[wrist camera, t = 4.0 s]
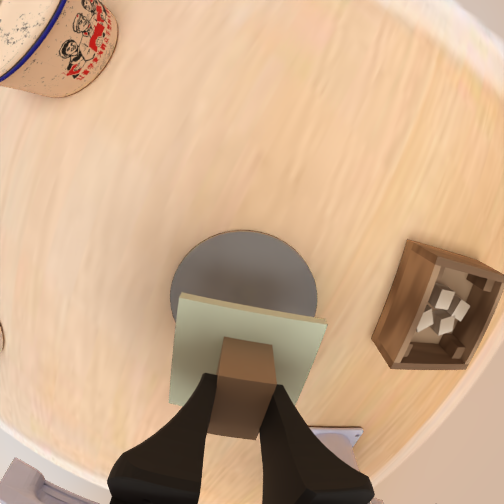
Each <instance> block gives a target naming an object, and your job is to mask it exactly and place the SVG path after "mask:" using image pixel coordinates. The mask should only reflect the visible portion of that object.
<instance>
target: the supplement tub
mask: <svg viewBox="0 0 504 504" xmlns="http://www.w3.org/2000/svg"><path fill="white" fill-rule="evenodd" d="M2 348H3V336H2V331H1V327H0V353H1V351H2Z"/></svg>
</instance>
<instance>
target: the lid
mask: <svg viewBox="0 0 504 504" xmlns="http://www.w3.org/2000/svg"><path fill="white" fill-rule="evenodd" d="M327 325H328V324H327V322H326V320H325V319H323V318H316V317H310V316H304V315H298V314H292V313H286V312H280V311H274V310H269V309H263V308H258V307H252V306H247V305H241V304H236V303H231V302H226V301H221V300H216V299H211V298H206V297H201V296H197V295H192V294H187V293H183V292H182V293H181V295H180V297H179V302H178V310H177V319H176V327H175V337H174V346H173V357H172V368H171V379H170V392H169V403H170V404H175V405H179V406H184V405H185V403H186V402H187V401H188V399H189V398H190V396H191V395H192V394H193V392H194V391H195V389H196V387H197V386H198V384H199V382H200V380H201V377H202V374H203V373H210V374H215V375H218V378H217V390H216V394H215V399H214V404H213V409H212V413H211V418H210V423H209V427H208V431H207V433H209V434H215V435H221V436H228V437H235V438H243V439H251V440H256V438H257V436H258V433H259V429H260V427H261V424H262V421H263V419H264V416H265V414H266V411H267V408H268V406H269V403H270V400H271V398H272V395H273V394H274V391H275V388H276V386H277V384H281V385H283V386H284V388H285V390H286V391H287V393H288V395H289V397H290V399H291V401H292V402H293V404H294V406H295V405H296V402H297V400H298V398H299V396H300V393H301V391H302V389H303V386H304V384H305V381H306V379H307V377H308V374H309V372H310V369H311V367H312V364H313V362H314V359H315V357H316V354H317V352H318V349H319V347H320V344H321V341H322V339H323V336H324V333H325V331H326V328H327Z"/></svg>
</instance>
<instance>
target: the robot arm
mask: <svg viewBox="0 0 504 504" xmlns="http://www.w3.org/2000/svg"><path fill="white" fill-rule="evenodd" d="M217 378H218V375H215V374H210V373H203V374H202V377H201V380H200V382H199V384H198V386H197V387H196V389H195V391H194V392H193V394H192V395H191V396H190V398H189V399H188V401H187V402H186V403H185V405H184V406H183V407H182V408H181V409H180V411H179V412H178V413H177V414H176V415H175V416H174V417H173V418H172V419H171V420H170V421H169V422H168V423H167V424H166V425H165V426H164V427H162V428H161V429H160V430H159V431H158V432H156V433H155V434H154V435H152V436H151V437H150V438H148V439H147V440H145V441H144V442H142V443H141V444H139V445H137V446H136V447H134V448H132V449H130V450H128V451H126V452H124V453H123V454H122V455H121V456H120V457H119V459H118V460H117V461H116V463H115V464H114V466H113V468H112V470H111V472H110V475H109V477H108V480H107V484H108V487H109V490H110V493H111V495H112V498H111V501H110V504H198V500H199V495H200V488H201V478H202V467H203V457H204V448H205V439H206V435H207V431H208V427H209V423H210V418H211V413H212V409H213V404H214V399H215V394H216V390H217ZM259 433H260V443H261V453H262V462H263V501H262V504H370V501H371V503H372V504H384V503H383V501H382V500H380V499H377V498H373V497H374V495H375V494H374V491H373V487H372V484H371V482H370V479H369V477H368V476H366V475H364V474H362V473H361V472H360V471H359V468H358V465H357V462H356V458H355V455H354V452H353V449H352V448H353V446H354V445H355V443H356V442H357V440H358V439H359V438H360V436H361V435H362V433H363V428H318V427H308V425H307V424H306V423H305V421H304V420H303V418H302V417H301V415H300V414H299V412H298V411H297V409H296V407H295V406H294V404H293V402H292V401H291V399H290V397H289V395H288V393H287V391H286V390H285V388H284V386H283V385H281V384H277V386H276V388H275V391H274V394H273V395H272V398H271V400H270V403H269V406H268V408H267V411H266V414H265V416H264V419H263V421H262V424H261V427H260V429H259ZM0 503H1V504H99V503H96V502H94V501H91V500H88V499H86V498H83V497H81V496H79V495H76V494H74V493H72V492H69V491H67V490H65V489H63V488H61V487H59V486H56V485H54V484H52V483H50V482H48V481H46V480H45V478H44V476H43V475H42V473H40V472H39V471H38V470H37V469H35V468H34V467H32V466H30V465H28V464H26V463H25V462H23V461H21V460H19V459H18V458H14V459H13V461H12V463H11V464H10V466H9V468H8V469H7V471H6V473H5V475H4V476H3V478H2V480H1V482H0Z"/></svg>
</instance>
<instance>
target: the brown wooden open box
mask: <svg viewBox="0 0 504 504" xmlns="http://www.w3.org/2000/svg"><path fill="white" fill-rule="evenodd" d="M503 290H504V274H502V273H500V272H498V271H496V270H495V269H493V268H491V267H489V266H487V265H485V264H484V263H482V262H480V261H478V260H475V259H472V258H469V257H465V256H462V255H459V254H456V253H453V252H449V251H446V250H443V249H439V248H436V247H433V246H429V245H426V244H422V243H419V242H416V241H412V240H408V239H407V243H406V246H405V249H404V252H403V256H402V259H401V262H400V265H399V268H398V271H397V274H396V276H395V279H394V282H393V285H392V288H391V290H390V293H389V296H388V299H387V301H386V304H385V306H384V309H383V311H382V314H381V316H380V319H379V321H378V324H377V326H376V329H375V331H374V333H373V336H372V338H371V339H372V340H373V342H374V343H375V345H376V347H377V348H378V350H379V351H380V353H381V354H382V356H383V358H384V359H385V361H386V362H387V364H388V366H389V367H390V369H407V370H463V369H466V368H467V366H468V365H469V363H470V361H471V359H472V357H473V356H474V354H475V352H476V350H477V348H478V346H479V344H480V342H481V340H482V338H483V336H484V334H485V332H486V330H487V328H488V325H489V323H490V321H491V319H492V317H493V314H494V312H495V310H496V307H497V305H498V302H499V300H500V297H501V295H502V292H503Z"/></svg>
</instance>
